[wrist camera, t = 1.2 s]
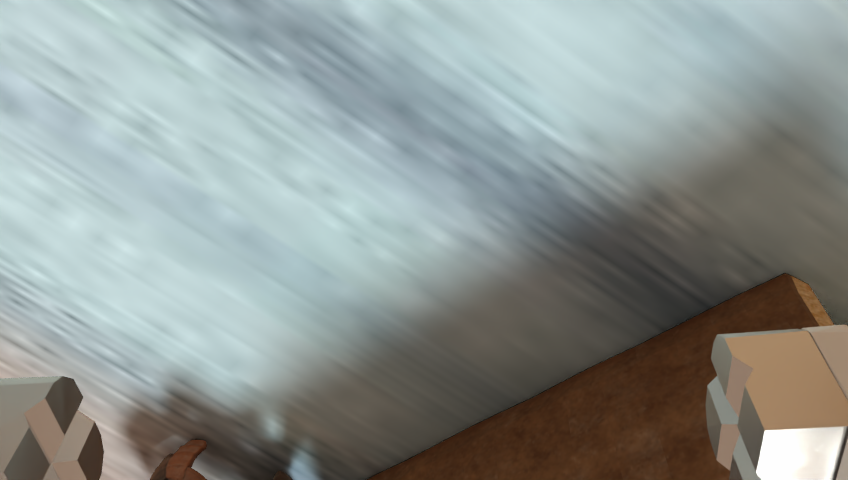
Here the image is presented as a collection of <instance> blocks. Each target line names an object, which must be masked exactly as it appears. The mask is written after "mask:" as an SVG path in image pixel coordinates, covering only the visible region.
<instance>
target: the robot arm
mask: <svg viewBox="0 0 848 480" xmlns="http://www.w3.org/2000/svg"><path fill="white" fill-rule="evenodd" d="M711 360H712V363H713V365H714V368H715V371H716V373H717V377H715V378H714V379H713V380H712V381H711V382H710V383H709V384H708V385H707V395H706V418H707V429H708V433H709V437H710V442H711V445H712V448H713V451H714V454H715V457H716V460H717V461H718V462H719V463H721V464H722V465H723V466H724V467H726V468H727V469H728V470H730V475H729V480H848V326H847V325H832V326H820V327H807V328H802V329H787V330H773V331H759V332H745V333H731V334H717V336H716V338H715V340H714V343H713V348H712V355H711ZM82 399H83V396H82V394H81V392H80V390H79V389H78V387H77V385H76V383H75V381H74V379H71V378H68V377H64V376H56V377H31V378H5V379H0V480H99V478H100V476H101V472H102V463H103V454H104V450H103V445H102V439H101V434H100V432H99V430H98V428H97V426H96V423H95V421H93V420H92V419H90V418H89V417H87V416H86V415H84V414H83V413H81V412H80V411H78V408H79V406H80V403H81V401H82Z"/></svg>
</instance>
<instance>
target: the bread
mask: <svg viewBox="0 0 848 480" xmlns="http://www.w3.org/2000/svg"><path fill="white" fill-rule="evenodd" d="M832 325H834V324H833V322H832V321H831V319H830V317H829V316H828V314H827V313H826V311H825V309H824V308H823V306H822V305H821V303H820V302H819V300H818V298H817V297H816V295H815V294H814V292H813V291H812V289H811V288H810V286H809V285H808V284H806V283H805V282H803V281H801V280H799V279H797V278H795V277H793V276H791V275H789V274H786V273H785V274H783V275H781V276H778V277H776V278H774V279H772V280H770V281H768V282H766V283H763V284H761V285H759V286H757V287H755V288H752V289H750V290H748V291H746V292H744V293H741V294H739V295H737V296H735V297H733V298H731V299H729V300H727V301H725V302H723V303H721V304H719V305H717V306H715V307H713V308H711V309H709V310H707V311H705V312H703V313H701V314H699V315H697V316H695V317H693V318H692V319H690V320H688V321H686V322H684V323H682V324H680V325H678V326H676V327H674V328H672V329H670V330H668V331H666V332H664V333H662V334H660V335H658V336H656V337H654V338H652V339H650V340H648V341H646V342H644V343H642V344H640V345H638V346H636V347H634V348H631V349H629V350H627V351H625V352H623V353H620V354H618V355H616V356H614V357H612V358H610V359H607V360H605V361H603V362H601V363H599V364H597V365H595V366H593V367H591V368H589V369H587V370H585V371H583V372H581V373H579V374H577V375H575V376H573V377H571V378H569V379H567V380H565V381H563V382H561V383H560V384H558V385H556V386H554V387H552V388H550V389H548V390H546V391H544V392H543V393H541V394H539V395H537V396H535V397H533V398H531V399H529V400H527V401H525V402H522V403H520V404H518V405H516V406H514V407H511V408H509V409H507V410H505V411H503V412H501V413H498V414H496V415H494V416H492V417H490V418H488V419H486V420H484V421H482V422H480V423H478V424H476V425H474V426H472V427H469V428H467V429H465V430H464V431H462V432H460V433H458V434H456V435H454V436H452V437H450V438H448V439H447V440H445V441H443V442H441V443H439V444H437V445H435V446H433V447H431V448H429V449H427V450H426V451H424V452H422V453H420V454H418V455H416V456H414V457H412V458H410V459H408V460H406V461H404V462H402V463H400V464H398V465H396V466H393V467H391V468H389V469H387V470H385V471H383V472H381V473H379V474H377V475H375V476H373V477H371V478H369V479H367V480H729V475H730V470H728V469H727V468H726V467H724V466H723V465H722V464H721V463H719V462H718V461H717V460H716V457H715V454H714V451H713V448H712V445H711V442H710V437H709V433H708V429H707V418H706V395H707V385H708V384H709V383H710V382H711V381H712V380H713V379H714V378H715V377H717V373H716V371H715V368H714V365H713V363H712V360H711V355H712V348H713V343H714V340H715V338H716V336H717V334H731V333H745V332H759V331H773V330H787V329H802V328H807V327H820V326H832Z"/></svg>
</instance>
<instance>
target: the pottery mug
mask: <svg viewBox="0 0 848 480" xmlns="http://www.w3.org/2000/svg"><path fill="white" fill-rule="evenodd" d="M206 447H207V444H206V441H204V440H191V441H189V442H187V443H186V444H185V445H184V446H181V447H179V449H178V451H177V452H176V453H174V454H169V455H168V456H166V458H165V459H164V460H163V461H162V462H161V463H160V465H159V466H158V467H157V469H156V470H155V472H154V473H153V475H152V476H151V479H150V480H207V479H205V477H204V476H202V475H201V474H200V473H198V472H197V471H195V470H194V469H192V468H191V467H192V465H193V463H194V461H195V459H196V458H197V456H198V455H199V454H201V452H202V451H204V450H205V449H206ZM273 480H292V479H291V478H290V477H289V476H288V475H287V474H286V473H284V472H283V471H278V472H277V473H276V474H275V476H274V478H273Z"/></svg>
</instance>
